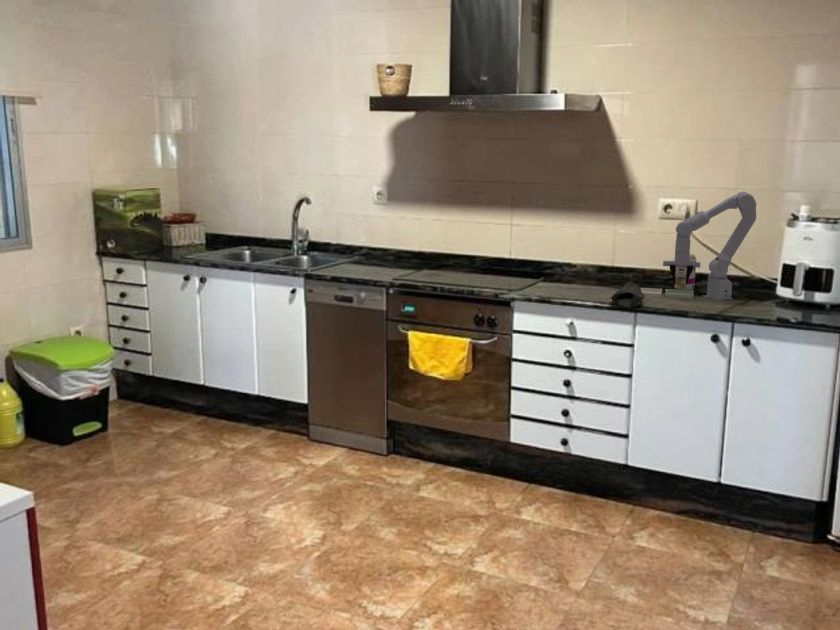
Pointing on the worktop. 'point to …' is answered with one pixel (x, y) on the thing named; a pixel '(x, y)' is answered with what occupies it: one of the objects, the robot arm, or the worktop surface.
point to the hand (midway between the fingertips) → (680, 284)
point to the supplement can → (682, 273)
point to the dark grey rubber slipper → (628, 290)
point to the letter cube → (680, 282)
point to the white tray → (651, 292)
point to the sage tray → (679, 294)
